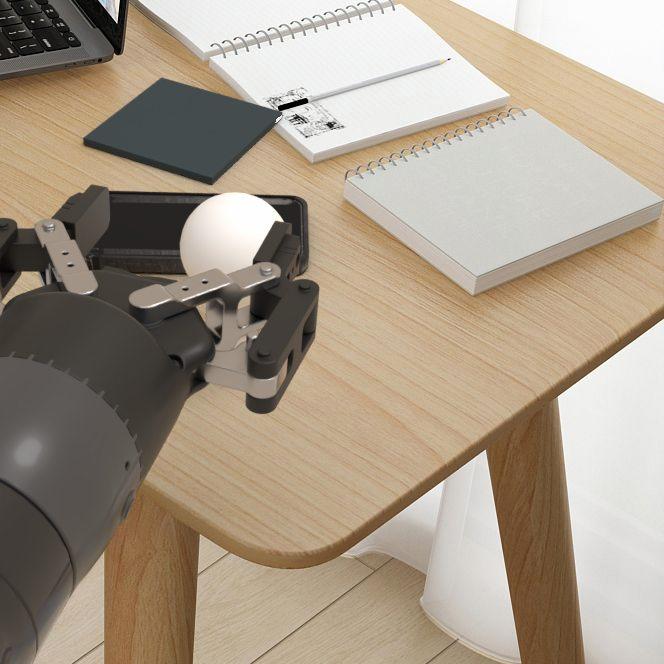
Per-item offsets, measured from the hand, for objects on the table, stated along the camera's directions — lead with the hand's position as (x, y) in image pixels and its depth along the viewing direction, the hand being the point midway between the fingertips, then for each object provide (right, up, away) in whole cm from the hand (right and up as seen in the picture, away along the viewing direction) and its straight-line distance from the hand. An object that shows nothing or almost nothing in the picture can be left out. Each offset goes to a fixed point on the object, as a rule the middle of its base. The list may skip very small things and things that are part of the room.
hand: (191, 220), depth 54 cm
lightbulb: (+1, -6, +18) cm, 19 cm away
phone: (-3, +1, +27) cm, 27 cm away
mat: (-5, +10, +38) cm, 40 cm away
